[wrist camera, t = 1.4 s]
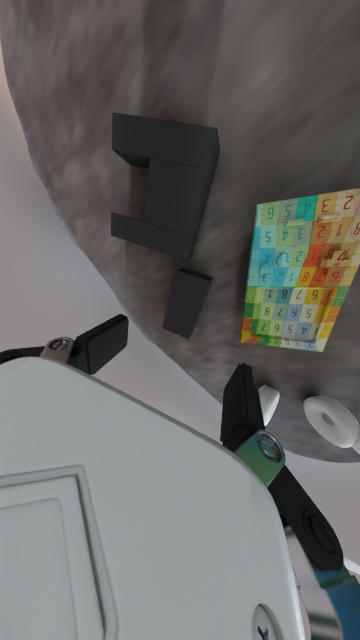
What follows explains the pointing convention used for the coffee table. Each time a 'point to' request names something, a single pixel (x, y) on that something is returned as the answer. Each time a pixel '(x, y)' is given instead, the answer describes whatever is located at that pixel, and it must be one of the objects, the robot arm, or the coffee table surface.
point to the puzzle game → (300, 269)
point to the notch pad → (166, 180)
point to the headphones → (321, 426)
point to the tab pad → (186, 301)
